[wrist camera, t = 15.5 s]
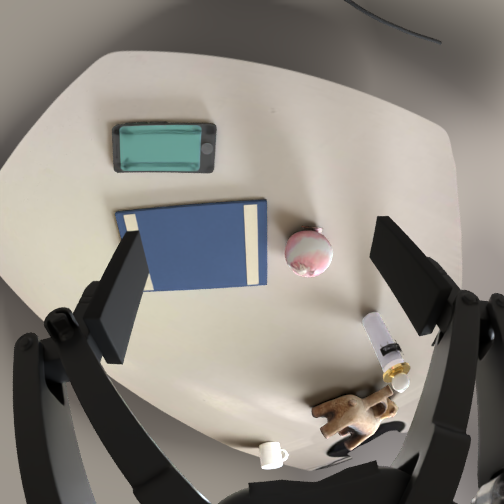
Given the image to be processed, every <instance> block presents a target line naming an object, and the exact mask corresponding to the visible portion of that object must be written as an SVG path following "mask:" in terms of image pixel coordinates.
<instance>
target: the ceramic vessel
mask: <svg viewBox="0 0 504 504" xmlns="http://www.w3.org/2000/svg"><path fill="white" fill-rule="evenodd" d="M391 395H393V392H392V390H391V387H390V385H387V386H386V387H384V388H383V389H381V390H379V391H377V392H375V393H373V394H371V395H370V396H368V397H366V398H364V399H361V398H359V397H357V396H355V395H351V394H350V395H344V396H341V397H339V398H336V399H333V400H331V401H327V402H324V403H322V404H320V405H318V406H316V407H312V416H313V417H315V418H318V417H326V418H327V419H328V423H327V424H325V425H324V426H323V427H321V428H320V430H321V433H322V434H323V435H324V437H325V438H326V439H328V438H329V437H331V436H332V435H334V434H336V433H337V432H338V433H339V435H341V436H345V435H347V434H349V433H350V434H351V436H350V437H349V439H348V440H346V441H345V442H344V446H345V447H346V448H347V449H348V450H349V451H351V450H352V449H353V448H355V447H356V446H357V445H359V444H360V443H361V442H362V441H364V440H365V439H367V438H368V437H370V436H371V435H372V434H373V433H374V432H375V431H376V430H377V428H378V427H379V424H380V422H381V420H383V419H385V418H389V417H393V416H395V415H396V413H397V410H398V407H397V405H396V404H395V403H394V402H393V401H391V400H390V399H389V398H388V397H389V396H391Z"/></svg>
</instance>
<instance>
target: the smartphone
mask: <svg viewBox="0 0 504 504" xmlns="http://www.w3.org/2000/svg"><path fill="white" fill-rule="evenodd" d="M112 142H113V164H114V171H115V172H117V173H124V172H178V173H212V172H213V170H214V159H215V143H216V125H215V124H211V123H168V122H150V123H147V122H137V123H126V124H118V125H116V126H114V127H113V129H112Z"/></svg>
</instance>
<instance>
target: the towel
mask: <svg viewBox="0 0 504 504" xmlns="http://www.w3.org/2000/svg"><path fill="white" fill-rule="evenodd" d="M115 216H116V221H117V225H118V229H119V232H120V236H121V240H122V238H123V236H124V234H125V233H126V231H135V230H139V231H140V236H141V240H142V244H143V248H144V252H145V256H146V260H147V264H148V268H149V275H148V278H147V281H146V284H145V288H144V291H143V292H151V291H174V290H194V289H212V288H228V287H244V286H258V285H267V200H247V201H231V202H216V203H202V204H189V205H177V206H166V207H156V208H146V209H136V210H127V211H118V212H116V213H115Z"/></svg>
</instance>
